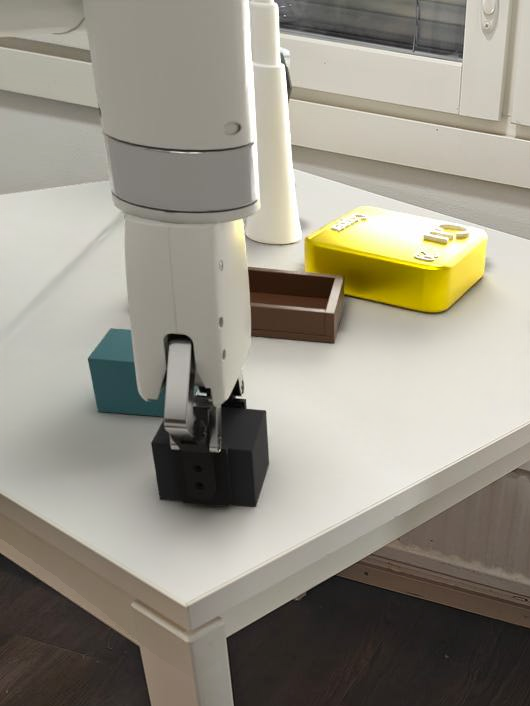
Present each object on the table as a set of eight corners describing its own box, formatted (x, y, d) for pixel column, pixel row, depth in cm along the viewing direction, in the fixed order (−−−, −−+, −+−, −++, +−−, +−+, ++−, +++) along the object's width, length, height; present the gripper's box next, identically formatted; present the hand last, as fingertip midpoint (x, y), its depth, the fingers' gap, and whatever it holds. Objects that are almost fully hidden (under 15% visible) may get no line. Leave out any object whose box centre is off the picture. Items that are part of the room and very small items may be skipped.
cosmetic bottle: (244, 243, 95) (227, -11, 80) (246, 225, 99) (231, -18, 85) (302, 246, 96) (295, -4, 81) (301, 229, 100) (295, -11, 86)
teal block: (97, 411, 64) (87, 358, 61) (119, 379, 68) (110, 327, 65) (182, 418, 64) (176, 365, 62) (199, 385, 68) (193, 335, 66)
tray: (138, 325, 76) (133, 295, 74) (165, 287, 83) (162, 258, 81) (334, 343, 77) (334, 313, 75) (344, 303, 84) (344, 275, 83)
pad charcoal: (159, 500, 56) (150, 442, 53) (179, 457, 60) (172, 402, 57) (255, 507, 56) (252, 450, 54) (269, 464, 61) (266, 409, 58)
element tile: (360, 245, 98) (360, 198, 95) (488, 272, 95) (493, 225, 92) (297, 285, 87) (295, 233, 84) (441, 317, 84) (445, 265, 81)
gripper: (153, 130, 53) (187, 412, 64) (55, 212, 39) (120, 547, 51) (281, 144, 53) (291, 421, 65) (226, 229, 40) (252, 556, 52)
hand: (215, 474), depth 58 cm, fingers closed on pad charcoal, 5 cm apart
